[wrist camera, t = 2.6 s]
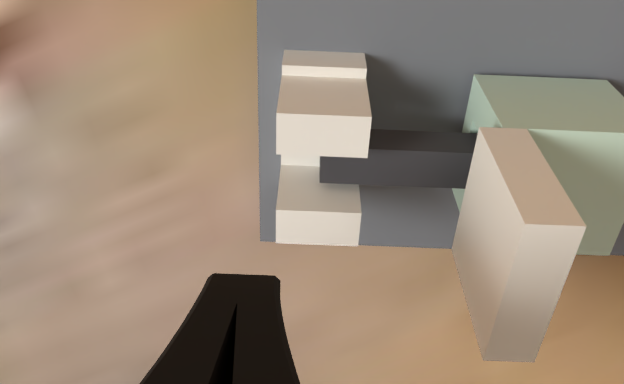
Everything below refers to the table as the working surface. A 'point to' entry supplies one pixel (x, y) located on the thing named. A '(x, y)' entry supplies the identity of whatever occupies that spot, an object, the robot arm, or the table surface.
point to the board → (398, 98)
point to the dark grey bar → (406, 160)
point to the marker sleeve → (534, 200)
